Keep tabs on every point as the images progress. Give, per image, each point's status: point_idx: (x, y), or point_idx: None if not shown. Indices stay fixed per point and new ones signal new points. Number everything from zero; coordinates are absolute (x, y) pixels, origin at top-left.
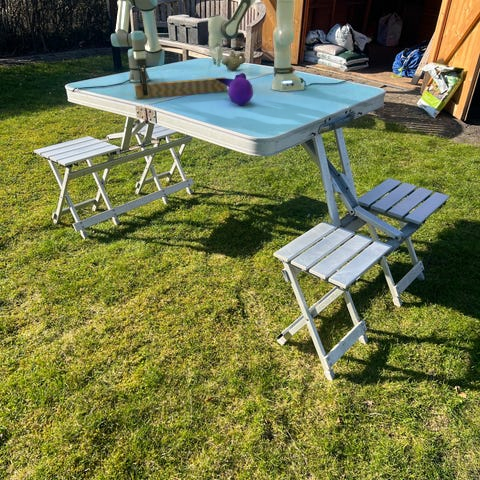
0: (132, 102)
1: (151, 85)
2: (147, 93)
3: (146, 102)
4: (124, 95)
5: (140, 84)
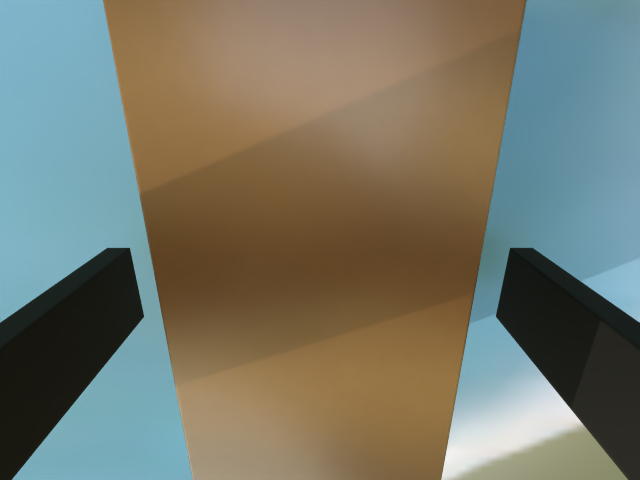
0: (518, 413)
1: (481, 178)
2: (553, 268)
3: (633, 267)
4: (103, 458)
5: (312, 476)
